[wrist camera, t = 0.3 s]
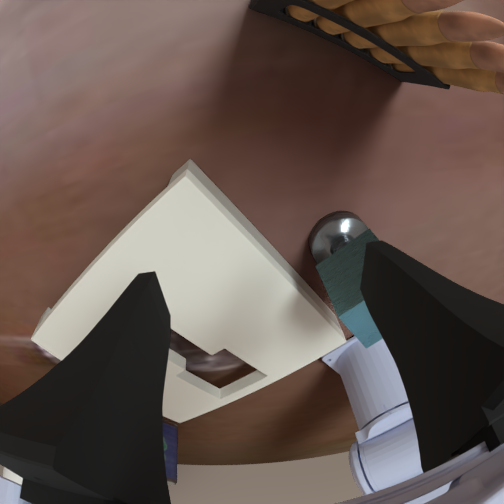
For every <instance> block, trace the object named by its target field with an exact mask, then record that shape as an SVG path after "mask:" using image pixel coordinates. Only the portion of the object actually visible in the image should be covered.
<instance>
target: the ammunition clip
mask: <svg viewBox="0 0 504 504" xmlns="http://www.w3.org/2000/svg"><path fill="white" fill-rule="evenodd" d="M461 1H463V0H251V2H250V4H249V7H250V9H252V10H255V11H258V12H261V13H264V14H267V15H270V16H272V17H275V18H278V19H280V20H283V21H286V22H288V23H291V24H293V25H296V26H298V27H300V28H303V29H305V30H307V31H310V32H312V33H314V34H316V35H319V36H321V37H323V38H325V39H327V40H329V41H331V42H333V43H335V44H337V45H339V46H341V47H343V48H345V49H347V50H349V51H351V52H353V53H355V54H356V55H358V56H360V57H362V58H364V59H365V60H367V61H369V62H371V63H372V64H374V65H376V66H377V67H379V68H381V69H382V70H384V71H386V72H387V73H389V74H391V75H392V76H394V77H395V78H397V79H398V80H400V81H401V82H408V83H415V84H422V85H428V86H433V87H439V88H444V89H449V88H450V85H454V86H459V87H463V88H467V89H472V90H476V91H481V92H496V93H500V94H504V45H502V44H498V43H494V42H489V41H485V40H491V39H495V38H499V37H501V36H503V35H504V23H503V22H501V21H500V20H498V19H495V18H493V17H490V16H487V15H484V14H480V13H475V12H467V11H436V10H440V9H444V8H447V7H450V6H452V5H455V4H457V3H459V2H461Z"/></svg>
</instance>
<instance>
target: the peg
mask: <svg viewBox="0 0 504 504" xmlns="http://www.w3.org/2000/svg"><path fill="white" fill-rule="evenodd" d="M375 241H379V240H378V238H377V237H376V236H375V235H374V233H373V232H372V231H371V230H370V229H368V228H367V226H366V225H365V224H364V223H363V221H362V220H361V219H360V218H359V217H358V216H357V215H355V214H354V213H351V212H348V211H337V212H333V213H330V214H328V215H326V216H324V217H323V218H322V219H320V220H319V221H318V222H317V223H316V225H315V226H314V227H313V229H312V231H311V233H310V237H309V248H310V251H311V253H312V255H313V257H314V259H315V261H316V263H317V264H318V265H316V266H315V267H316V269H317V271H318V273H319V275H320V277H321V280H322V282H323V284H324V286H325V288H326V291H327V293H328V295H329V297H330V300H331V302H332V304H333V306H334V309H335V311H336V313H337V316H338V318H339V319H340V320H341V321H342V322H343V323H344V324H345V325H346V326H347V328H348V329H349V330H350V331H351V332H352V333H353V334H354V336H355V337H356V338H357V339H358V340H359V341H360V342H361V343H362V345H363V346H364V347H365V348H366V349H367V348H368V347H370V346H372V345H373V344H375V343H376V342H378V341H380V340H381V339H383V338H382V336H381V334H380V332H379V330H378V328H377V327H376V325H375V323H374V321H373V319H372V317H371V315H370V313H369V311H368V309H367V306H366V303H365V301H364V298H363V295H362V293H361V290H360V285H361V278H362V272H363V265H364V257H365V250H366V243H367V242H375Z"/></svg>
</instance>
